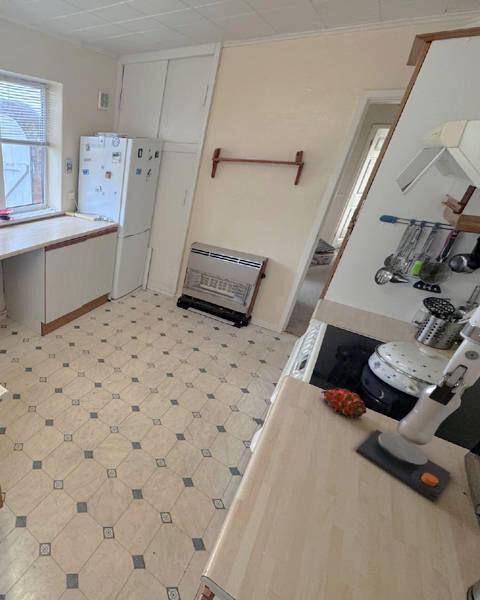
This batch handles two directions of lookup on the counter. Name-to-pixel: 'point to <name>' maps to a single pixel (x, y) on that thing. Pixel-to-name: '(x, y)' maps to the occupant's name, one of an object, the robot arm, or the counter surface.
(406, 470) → the scale
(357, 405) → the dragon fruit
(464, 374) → the robot arm
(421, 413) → the plastic bottle
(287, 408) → the counter surface
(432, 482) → the tare button
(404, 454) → the scale pan
